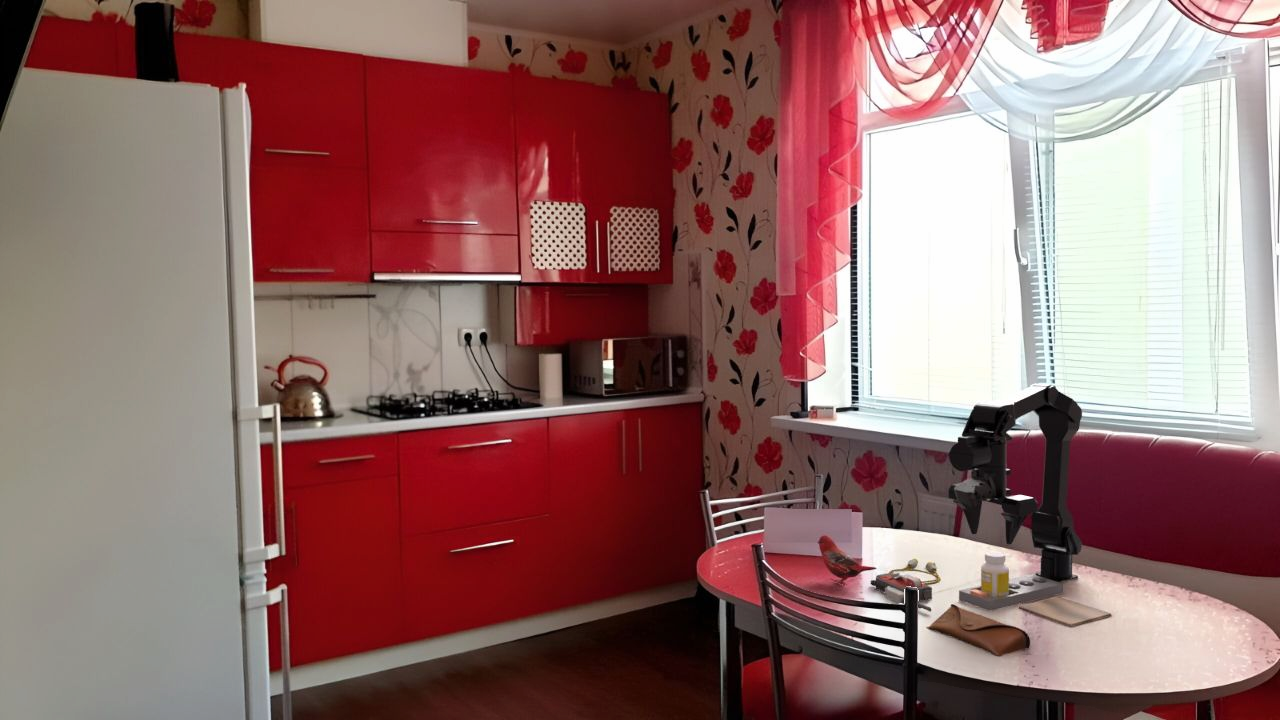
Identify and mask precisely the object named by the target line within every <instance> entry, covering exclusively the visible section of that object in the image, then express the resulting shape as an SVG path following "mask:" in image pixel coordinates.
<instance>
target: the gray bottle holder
mask: <svg viewBox="0 0 1280 720" xmlns="http://www.w3.org/2000/svg"><path fill="white" fill-rule="evenodd" d="M1061 594H1064V583H1063V582H1056V581H1053V580H1050V579H1047V578H1043V577H1040V576H1037V575H1035V573H1034V574H1033V573H1031V574H1026V575H1022V576H1021V575H1020V576H1016V577H1013V578H1009V595H1007V596H1003V597H999V598H995V597H992V596H989V595H987V593H985V592H983V591H981V585H978V586H973V587H968V588H964V589H959V590H958V601H961V602H963V603H967V604H969V605H971V606H974V607H977V608H981V609H983V610H986V611H988V612H991V611H995V610H999V609H1004V608H1008V607H1012V606H1016V605H1020V604H1024V603H1028V602H1032V601H1035V600H1036V601H1037V600H1041V599H1045V598H1049V597H1054V596H1056V595H1061Z"/></svg>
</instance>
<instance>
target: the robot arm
mask: <svg viewBox="0 0 1280 720" xmlns="http://www.w3.org/2000/svg"><path fill="white" fill-rule="evenodd" d="M1031 412H1033V413H1034V414H1035V415H1036V416H1037V417H1038V427H1039V429H1040V431H1041V433H1042V434H1043V437H1044V438H1045V449H1044V452H1045V453H1044V467H1043V478H1042V479H1043V483H1042V497H1041V504H1040V506H1039V507H1038V501H1037V499H1036V498H1035V497H1032V496H1027V495H1023V494H1017V495H1011V493H1012V492H1011V491H1012V489H1010V488H1007V476H1010V475H1012V474H1011V473H1012V471H1011V469H1009V468H1007V442H1011V441H1012V440H1013V437H1012V436H1011V435H1010V434H1009V433H1008V432H1009V431H1010V430H1012V429H1013V427H1015V425H1016V422H1017V421H1016V420H1018V419H1019V418H1021V417H1023V416H1025V415H1027V414H1029V413H1031ZM1082 417H1083V410H1082V407H1081V406H1080V405H1079V404H1078V403H1077V401H1076V400H1074V399H1073V398H1072V397H1070V396H1068V395H1066V394H1065V393H1063V392H1060V391H1059V390H1058V389H1057V387H1055V386H1053V385H1052V384H1041V383H1033V384H1031V385H1029V386H1028V387H1027V388H1025V389H1022V390H1021V391H1019V392H1016V393H1014V394H1012V395H1010V396H1007V397H1005V398H1004V399H1002V400H1001V399H1000V400H991V401H982V402H981V401H980V402H977V403H975V405H974V406H973V408H972V410H971V411H970V414H969V417H968V419H967V421H966V424H965V426H964V428H963V431H962V433H961V436H958V437H957V443H955V444H953V446H951V448H950V450H949V452H948V459H949V463H950V464H951V466H952V467H953V468H954V469H955V470H956V471H959V472H967V471H971V475H970V477H969V478H967V479H965V480H963V481H961V482H960V483H955V484H951V485H950V486H949V488H948V499H952V502H953V503H954V504H956V505H958V506H959V507H960V508H961V509H962V512H963V513H964V516H965V519H966V521H967V524H968V525H967V526H969V530H970V533H971V534H972V535H977V533H978V530H979V524H980V517H981V512H982V505H983V502H987V503H988V502H989V503H992V504H995V505H1000V506H1001V509H1002V510H1003V512H1000V515H1001V516H1002V518H1003V519H1004V521H1005V523H1004V524H1005V526H1004V527H1005V543H1006V545H1008V546H1009V545H1012V544H1013V542H1014V541H1015V539H1016V537H1017V535H1018V532H1019V531H1020V529H1021V527H1022V525H1023V524H1024V522H1025V521H1026V520H1027V519H1026V518H1028V516H1030V517H1031V521H1030V522H1031V524H1030V527H1029V530H1030V534H1031V539H1032V543H1033V547H1034V548H1036V549H1041V557H1040V571H1037V572H1035V573H1034V575H1037V576H1040V577H1043V578H1047V579H1050V580H1053V581H1056V582H1060V583H1063V582H1068V581H1071V580H1076V579H1078V578H1079V575H1076V574H1073V555H1075V556H1076V555H1079V553H1080V552H1081V551H1082V547H1083V546H1082V545H1083V542H1082V540H1081V538H1080V537H1079V535H1077V532H1076V531H1075V529H1074V518H1073V516H1072V513H1071V512H1070V511H1069V508H1068V506H1067V502H1068V501H1067V498H1068V483H1069V481H1068V480H1069V467H1070V465H1069V464H1070V452H1071V451H1070V450H1071V449H1070V448H1071V441H1072V439H1073V438H1074V437H1075V435H1076V434H1077V433H1078V431H1079V430H1080V425H1081V420H1082ZM1008 495H1010V496H1008Z"/></svg>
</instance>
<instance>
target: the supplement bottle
mask: <svg viewBox="0 0 1280 720" xmlns="http://www.w3.org/2000/svg"><path fill="white" fill-rule="evenodd" d="M1006 560H1007V559H1006V554H1005V553H1003V552H1000V551H987V552H985V553H984V561H985V562H984V563H982V565H981V567H980V571H981V573H980V586H981V591H983V592H985V593H987V595H989V596H992V597H995V598H999V597H1003V596H1007V595H1009V579H1010V568H1009V566H1008V565H1007V564H1005V563H1006Z"/></svg>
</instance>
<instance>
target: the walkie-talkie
mask: <svg viewBox="0 0 1280 720" xmlns="http://www.w3.org/2000/svg"><path fill="white" fill-rule="evenodd" d="M870 585H871V586H874V587H875V590H877V591H879V590H880V592H882V593H884V592H885V593H884V594H886V597H887V599H888V600H890V601H893V602H895V603H896V604H898V603H903V604H905V603H904V589H905V587H906V586H911V587H917V588H918V590H919V601H918V608H917V609H919V610H920V609H923V610H925V611H928V612H930V613H931V612H932V608H931V607H930V606H927V605H925V604H923V603H920V602H922V601H929V600H932V598H933V587H932V586H929V585H928V584H927V585H925V584H923V583H922V582H921V578H918V577H916V576H913V575H911V574H902V575H901V574H900V572H898V571H896V572H894V571H893V572H892V573H889V572H888V573H883V574H882V573H881V574H877V575H876V576H875V579H873V580H872V579H871V580H870Z"/></svg>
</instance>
